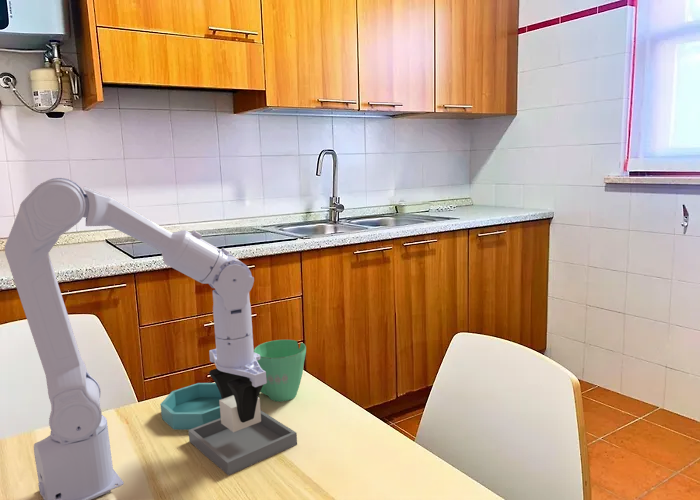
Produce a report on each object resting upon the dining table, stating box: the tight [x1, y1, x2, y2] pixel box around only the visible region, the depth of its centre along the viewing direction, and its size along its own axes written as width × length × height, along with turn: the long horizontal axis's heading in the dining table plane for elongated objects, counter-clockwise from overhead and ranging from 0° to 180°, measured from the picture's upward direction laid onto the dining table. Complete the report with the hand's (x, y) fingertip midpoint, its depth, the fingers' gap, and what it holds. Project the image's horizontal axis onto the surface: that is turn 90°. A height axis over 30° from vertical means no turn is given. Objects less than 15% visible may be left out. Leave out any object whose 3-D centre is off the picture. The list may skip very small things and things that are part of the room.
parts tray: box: [187, 410, 298, 477], centre depth 88 cm, size 12×13×2 cm
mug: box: [254, 339, 307, 403], centre depth 105 cm, size 15×10×10 cm
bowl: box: [160, 382, 222, 431], centre depth 99 cm, size 13×13×3 cm
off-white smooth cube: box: [219, 395, 262, 432], centre depth 87 cm, size 5×4×4 cm
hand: (240, 414), depth 88 cm, fingers closed on off-white smooth cube, 4 cm apart
